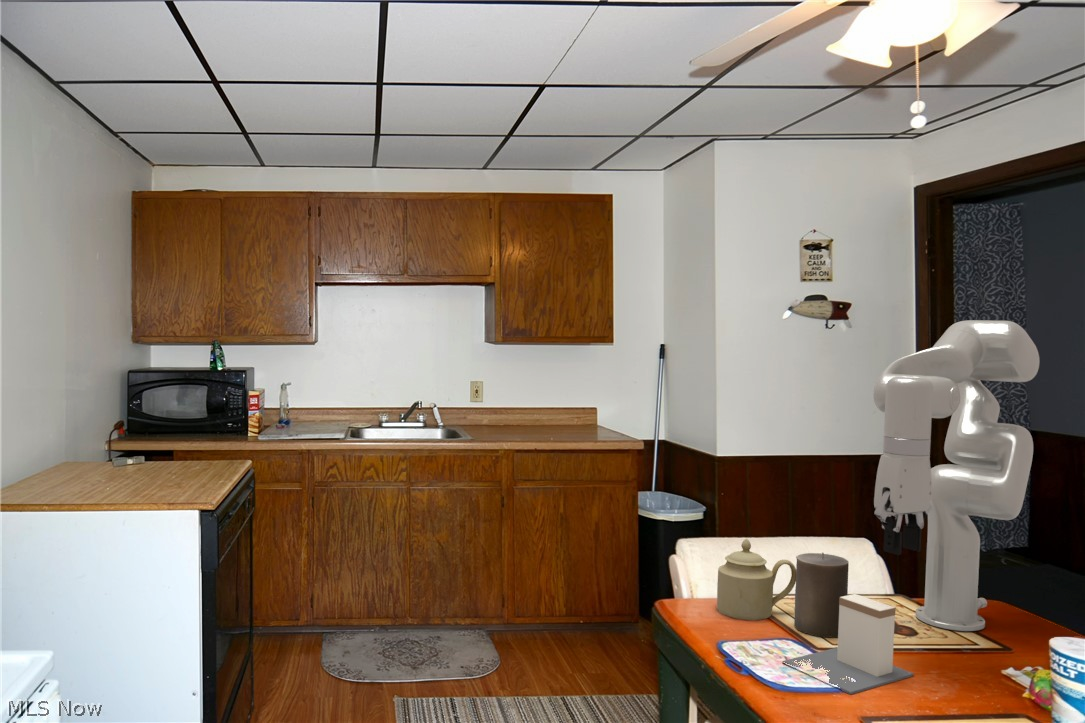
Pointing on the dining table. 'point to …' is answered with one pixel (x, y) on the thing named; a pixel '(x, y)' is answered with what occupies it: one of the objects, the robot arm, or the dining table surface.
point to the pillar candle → (819, 593)
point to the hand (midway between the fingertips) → (901, 550)
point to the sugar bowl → (749, 585)
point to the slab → (866, 634)
